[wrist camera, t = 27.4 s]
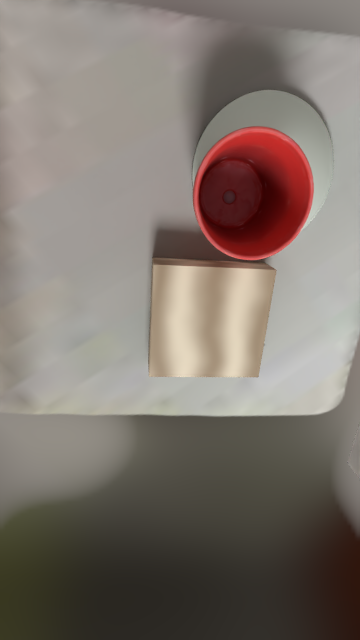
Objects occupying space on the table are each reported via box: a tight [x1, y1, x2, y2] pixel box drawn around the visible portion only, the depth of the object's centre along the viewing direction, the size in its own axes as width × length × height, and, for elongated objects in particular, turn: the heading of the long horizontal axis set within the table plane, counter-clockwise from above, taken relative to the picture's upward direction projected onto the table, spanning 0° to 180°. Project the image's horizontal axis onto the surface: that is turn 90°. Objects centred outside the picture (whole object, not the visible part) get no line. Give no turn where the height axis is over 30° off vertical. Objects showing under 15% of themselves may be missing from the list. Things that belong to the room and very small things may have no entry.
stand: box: [148, 257, 276, 377], centre depth 43 cm, size 14×14×4 cm
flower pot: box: [193, 126, 314, 260], centre depth 34 cm, size 11×11×10 cm
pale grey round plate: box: [192, 90, 334, 231], centre depth 39 cm, size 16×16×1 cm
